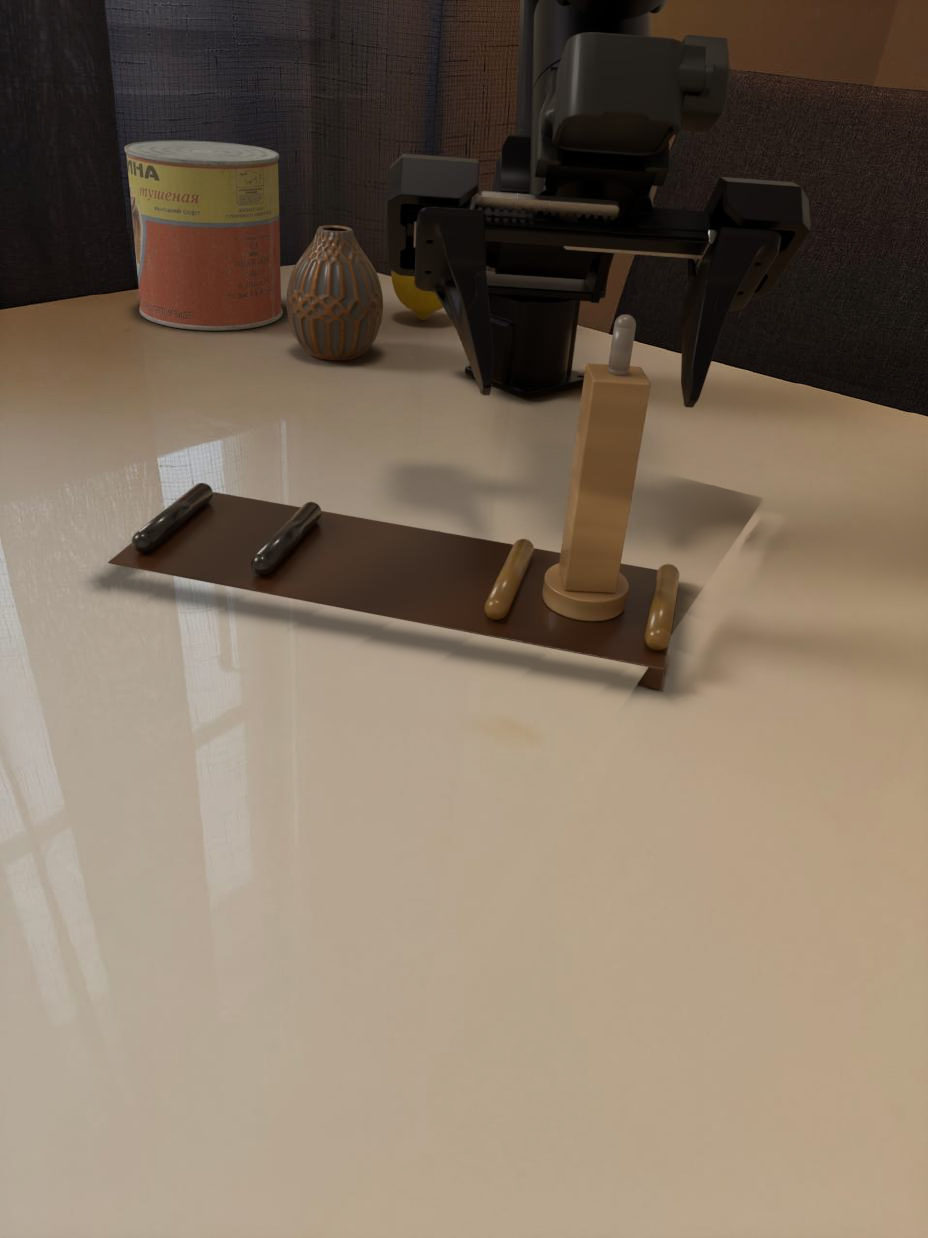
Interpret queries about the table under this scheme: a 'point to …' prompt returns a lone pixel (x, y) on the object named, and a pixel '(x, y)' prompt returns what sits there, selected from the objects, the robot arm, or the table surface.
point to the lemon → (415, 296)
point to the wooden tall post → (601, 486)
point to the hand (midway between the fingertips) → (589, 397)
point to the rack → (398, 574)
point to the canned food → (206, 233)
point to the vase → (334, 297)
